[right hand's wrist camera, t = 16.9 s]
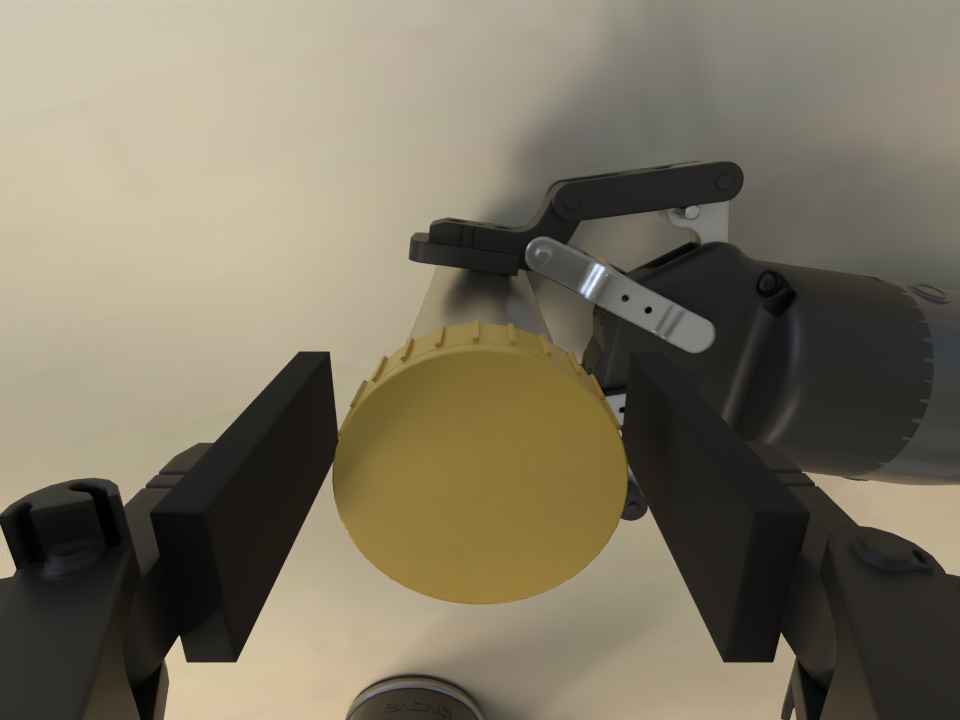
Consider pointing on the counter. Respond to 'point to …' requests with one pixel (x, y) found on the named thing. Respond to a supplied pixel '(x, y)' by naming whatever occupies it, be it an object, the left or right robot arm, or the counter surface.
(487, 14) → the counter surface
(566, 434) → the lid
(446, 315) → the bottle
